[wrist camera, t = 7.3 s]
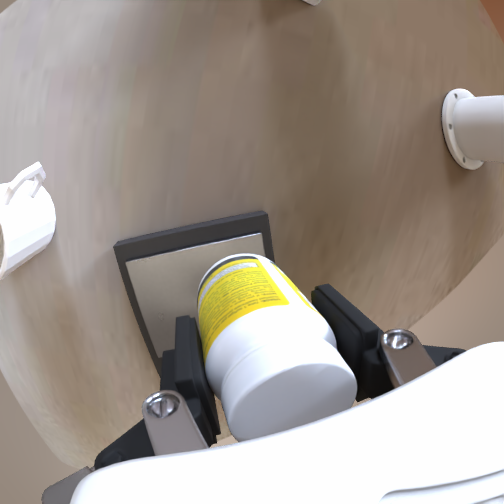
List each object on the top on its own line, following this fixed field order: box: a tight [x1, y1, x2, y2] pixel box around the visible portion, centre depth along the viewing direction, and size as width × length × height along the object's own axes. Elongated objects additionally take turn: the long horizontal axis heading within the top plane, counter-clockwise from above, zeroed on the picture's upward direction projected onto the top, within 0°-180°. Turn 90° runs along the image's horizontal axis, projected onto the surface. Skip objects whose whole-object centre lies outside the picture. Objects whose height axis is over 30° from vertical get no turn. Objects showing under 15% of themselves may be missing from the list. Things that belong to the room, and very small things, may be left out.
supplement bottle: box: [197, 254, 357, 442], centre depth 11 cm, size 5×5×8 cm
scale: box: [113, 211, 275, 378], centre depth 29 cm, size 15×16×3 cm
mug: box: [0, 162, 56, 281], centre depth 19 cm, size 8×12×10 cm, turn 129°
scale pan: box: [125, 231, 266, 358], centre depth 28 cm, size 13×11×1 cm
